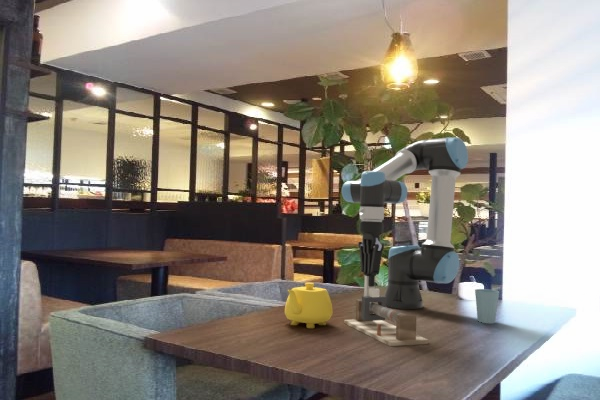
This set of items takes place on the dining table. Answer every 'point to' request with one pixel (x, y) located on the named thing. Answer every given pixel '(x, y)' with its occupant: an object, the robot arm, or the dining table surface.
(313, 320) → the teapot
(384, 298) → the grey sliding frame
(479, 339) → the dining table surface
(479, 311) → the cup
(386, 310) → the pipe rig
